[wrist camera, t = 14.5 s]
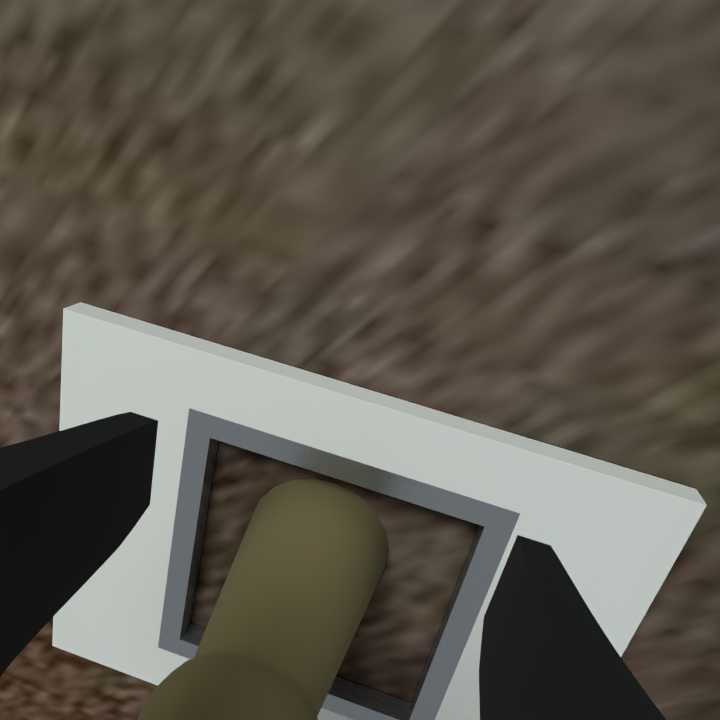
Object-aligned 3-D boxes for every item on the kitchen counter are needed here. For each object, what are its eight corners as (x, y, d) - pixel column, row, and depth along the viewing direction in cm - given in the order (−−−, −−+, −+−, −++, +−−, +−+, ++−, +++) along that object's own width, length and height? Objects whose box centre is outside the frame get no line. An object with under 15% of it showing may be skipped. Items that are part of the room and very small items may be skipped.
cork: (336, 621, 25) (237, 932, 15) (226, 542, 25) (51, 804, 15) (418, 539, 23) (366, 840, 13) (298, 450, 23) (148, 687, 13)
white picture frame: (696, 489, 20) (706, 505, 19) (525, 801, 27) (526, 825, 26) (80, 302, 22) (63, 308, 22) (66, 630, 29) (52, 645, 28)
